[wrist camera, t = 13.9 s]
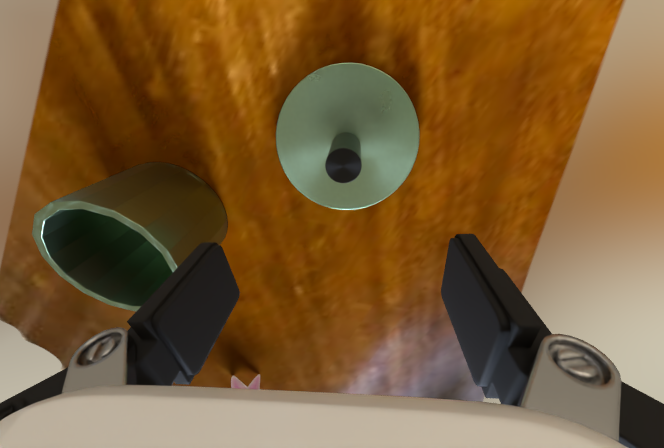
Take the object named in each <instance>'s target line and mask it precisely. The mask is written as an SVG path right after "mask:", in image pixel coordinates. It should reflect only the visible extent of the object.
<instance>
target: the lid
mask: <svg viewBox="0 0 664 448" xmlns="http://www.w3.org/2000/svg"><path fill="white" fill-rule="evenodd" d="M276 146H277V152H278V156H279V160H280V163H281V165H282V168H283V170H284V172H285V173H286V175H287V177H288V178H289V180H290V181H291V183H292V184H293V185H294V186H295V187H296V188H297V189H298V190H299V191H300V192H301V193H302V194H303V195H305V196H306V197H307V198H309V199H310V200H312V201H314V202H316V203H318V204H320V205H323V206H326V207H330V208H334V209H341V210H352V209H360V208H364V207H368V206H371V205H374V204H376V203H378V202H380V201H382V200H383V199H385V198H386V197H388V196H389V195H391V194H392V193H393V192H394V191H395V190H396V189H397V188H398V187H399V186H400V185H401V184H402V183H403V182H404V180H405V179H406V178H407V176H408V174H409V173H410V171H411V169H412V167H413V164H414V162H415V159H416V156H417V152H418V147H419V124H418V119H417V115H416V111H415V109H414V106H413V104H412V102H411V100H410V98H409V97H408V95H407V93H406V92H405V91H404V89H403V88H402V87H401V86H400V85H399V84H398V83H397V82H396V81H395V80H394V79H393V78H392V77H390V76H389V75H387V74H386V73H384V72H383V71H381V70H378V69H376V68H374V67H371V66H368V65H364V64H359V63H338V64H333V65H329V66H326V67H323V68H320V69H318V70H316V71H315V72H313V73H311V74H309V75H308V76H307V77H305V78H304V79H303V80H301V81H300V82H299V83H298V84H297V85H296V86H295V87H294V89H293V90H292V91H291V93H290V94H289V95H288V97H287V99H286V100H285V102H284V104H283V106H282V109H281V111H280V114H279V118H278V122H277V129H276Z"/></svg>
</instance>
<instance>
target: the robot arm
mask: <svg viewBox="0 0 664 448" xmlns="http://www.w3.org/2000/svg"><path fill="white" fill-rule="evenodd" d="M441 294H442V299H443V301H444V304H445V307H446V309H447V312H448V314H449V317H450V320H451V322H452V325H453V328H454V330H455V333H456V335H457V338H458V341H459V343H460V346H461V349H462V351H463V354H464V356H465V359H466V362H467V364H468V367H469V370H470V372H471V375H472V377H473V380H474V382H475V384H476V385H477V386H481V387H482V390H483V392H484V395H485V397H486V398H499V400H500V402H501V404H495V403H487V402H478V401H463V400H449V399H435V398H421V397H402V396H382V395H363V394H344V393H324V392H303V391H282V390H260V389H238V388H213V387H189V386H171V385H172V384H173V382H175V383H176V384H190V383H191V381H192V379H193V377H194V376H195V375H196V374H198V373H199V371H200V370H201V368H202V366H203V364H204V362H205V361H206V359H207V357H208V355H209V353H210V351H211V349H212V347H213V346H214V344H215V342H216V340H217V338H218V336H219V334H220V332H221V331H222V329H223V327H224V325H225V323H226V321H227V319H228V317H229V315H230V314H231V312H232V310H233V308H234V306H235V304H236V302H237V300H238V298H239V289H238V286H237V284H236V281H235V279H234V276H233V274H232V271H231V269H230V266H229V264H228V261H227V259H226V256H225V254H224V251H223V249H222V247H221V246H220V245H218V244H217V243H216V242H204V243H200V244H199V245H198V246H197V247H196V248H195V249H194V250H193V252H192V253H191V254H190V255H189V256H188V257H187V258H186V259H185V260H184V261H183V262H182V263H181V264H180V265H179V267H178V268H177V269H176V270H175V271H174V272H173V273H172V274H171V275H170V276H169V277H168V278H167V279H166V280H165V282H164V283H163V284H162V285H161V286H160V287H159V288H158V289H157V290H156V291H155V292H154V293H153V294H152V295H151V297H150V298H149V299H148V300H147V301H146V302H145V303H144V304H143V305H142V306H141V307H140V308H139V309H138V310H137V312H136V313H135V314H134V315H133V316H132V317H131V318H130V319H129V320H128V321H127V322H128V323H129V325H130V326H131V328H130V329H129V330H128V331H127V330H125V329H124V328H119V327H117V328H111V329H108V330H105V331H103V332H101V333H99V334H97V335H95V336H93V337H92V338H91V339H89V340H88V341H86V342H85V343H84V344H83V345H82V346H81V347H80V348H78V350H77V351H76V352H75V353H74V355H73V356H72V358H71V361H70V363H69V367H68V368H66V369H64V370H62V371H60V372H59V373H57V374H55V375H53V376H51V377H49V378H47V379H45V380H44V381H42V382H40V383H38V384H36V385H34V386H32V387H30V388H28V389H26V390H24V391H22V392H21V393H19V394H17V395H15V396H13V397H11V398H9V399H7V400H5V401H4V402H2V403H0V448H664V404H663V403H661V402H659V401H657V400H655V399H653V398H652V397H649V396H648V395H646V394H644V393H642V392H640V391H638V390H637V389H635V388H633V387H631V386H629V385H627V384H625V383H624V382H622V381H621V378H620V373H619V371H618V370H617V368H616V367H615V365H614V364H613V363H612V361H611V360H610V359H609V358H608V357H607V356H606V355H605V354H603V353H602V352H601V351H599V350H598V349H597V348H595V347H594V346H592V345H590V344H588V343H587V342H584V341H583V340H580V339H578V338H575V337H572V336H568V335H563V334H552V333H551V332H550V331H549V329H548V328H547V327H546V325H545V324H544V323H543V321H542V320H541V319H540V317H539V316H538V315H537V313H536V312H535V311H534V309H533V308H532V307H531V305H530V304H529V303H528V301H527V300H526V299H525V297H524V296H523V295H522V293H521V292H520V291H519V289H518V288H517V287H516V285H515V284H514V283H513V281H512V280H511V279H510V277H509V276H508V275H507V273H506V272H505V271H504V270H503V269H500V268H498V266H497V265H496V263H495V262H494V261H493V259H492V258H491V257H490V255H489V254H488V253H487V251H486V250H485V248H484V247H483V246H482V244H481V243H480V242H479V240H478V239H477V238H476V236H475V235H474V234H457V235H456V236H455V238H451V239H450V242H449V248H448V253H447V259H446V265H445V271H444V276H443V282H442V288H441Z"/></svg>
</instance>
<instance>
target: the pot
mask: <svg viewBox="0 0 664 448" xmlns="http://www.w3.org/2000/svg"><path fill="white" fill-rule="evenodd" d="M227 227H228V221H227V215H226V212H225V209H224V206H223V204H222V202H221V201H220V199H219V197H218V196H217V195H216V193H215V192H214V191H213V190H212V188H211V187H210V186H209V185H208V184H207V183H205V182H204V181H203V180H202V179H201V178H199V177H198V176H197V175H195V174H193V173H192V172H190V171H188V170H186V169H184V168H182V167H179V166H176V165H173V164H169V163H163V162H150V163H145V164H139V165H137V166H134V167H132V168H130V169H127V170H125V171H123V172H120V173H118V174H116V175H113V176H111V177H109V178H106V179H104V180H102V181H99V182H97V183H95V184H92V185H90V186H88V187H85V188H83V189H81V190H78V191H76V192H74V193H71V194H69V195H67V196H64V197H62V198H60V199H57V200H55V201H53V202H50V203H49V204H48V205H46V206H45V207H44V208H42V209H41V210H40V211H38V212H37V213H36V214H35V216H34V224H33V231H32V233H33V234H32V235H33V237H34V239H35V242H36V244H37V246H38V248H39V251H40V253H41V255H42V256H43V258H44V259H45V260H46V261H47V262H48V263H49V264H50V265H51V266H52V268H53V269H54V270H55V271H56V272H57V273H58V274H59V275H60V276H61V277H63V278H64V279H65V280H67V281H68V282H69V283H71V284H72V285H74V286H75V287H76V288H78V289H79V290H81V291H82V292H84V293H85V294H88V295H90V296H92V297H94V298H96V299H98V300H100V301H102V302H105V303H107V304H109V305H112V306H116V307H120V308H124V309H128V310H132V311H137V310H138V309H139V308H140V307H141V306H142V305H143V304H144V303H145V302H146V301H147V300H148V299H149V298H150V297H151V295H152V294H153V293H154V292H155V291H156V290H157V289H158V288H159V287H160V286H161V285H162V284H163V283H164V282H165V280H166V279H167V278H168V277H169V276H170V275H171V274H172V273H173V272H174V271H175V270H176V269H177V268H178V267H179V265H180V264H181V263H182V262H183V261H184V260H185V259H186V258H187V257H188V256H189V255H190V254H191V253H192V252H193V250H194V249H195V248H196V247H197V246H198V245H199V244H200V243H204V242H216V243H217V244H218V245H220V244H221V242H222V241H223V239H224V238H225V235H226V233H227Z"/></svg>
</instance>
